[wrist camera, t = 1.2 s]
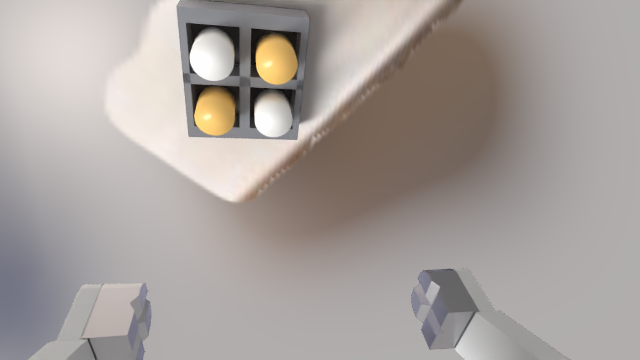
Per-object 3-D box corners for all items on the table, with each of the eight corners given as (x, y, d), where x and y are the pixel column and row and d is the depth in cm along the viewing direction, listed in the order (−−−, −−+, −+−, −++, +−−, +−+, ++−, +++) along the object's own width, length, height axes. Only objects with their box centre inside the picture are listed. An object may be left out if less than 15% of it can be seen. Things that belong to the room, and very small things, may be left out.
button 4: (255, 30, 27) (256, 42, 25) (295, 34, 28) (299, 45, 26) (254, 69, 29) (255, 83, 27) (292, 72, 30) (295, 85, 28)
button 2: (254, 88, 30) (255, 102, 28) (290, 89, 30) (293, 104, 28) (253, 120, 32) (254, 136, 29) (287, 121, 32) (291, 137, 30)
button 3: (192, 25, 26) (187, 37, 24) (234, 29, 27) (233, 40, 25) (195, 65, 28) (191, 79, 26) (235, 68, 29) (234, 82, 27)
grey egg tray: (181, -3, 27) (176, 6, 25) (305, 10, 29) (309, 18, 27) (191, 122, 33) (188, 136, 31) (294, 125, 35) (297, 139, 33)
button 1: (196, 84, 29) (192, 99, 27) (235, 86, 30) (234, 101, 28) (199, 118, 31) (195, 134, 29) (235, 119, 31) (234, 136, 29)
